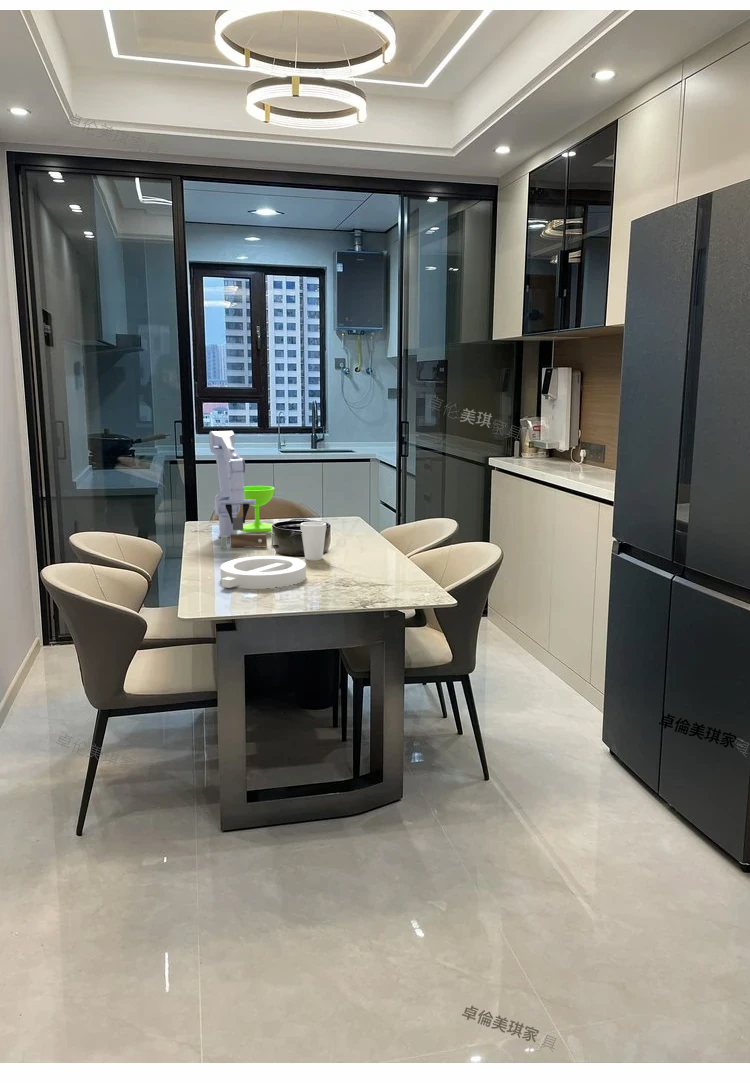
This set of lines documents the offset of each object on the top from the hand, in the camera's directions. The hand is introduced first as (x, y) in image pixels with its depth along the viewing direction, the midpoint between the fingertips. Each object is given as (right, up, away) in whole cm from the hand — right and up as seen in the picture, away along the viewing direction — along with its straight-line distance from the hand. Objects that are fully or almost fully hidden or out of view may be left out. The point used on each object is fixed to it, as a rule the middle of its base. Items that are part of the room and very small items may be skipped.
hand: (237, 522), depth 317 cm
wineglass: (+3, -2, +34) cm, 34 cm away
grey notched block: (0, -3, +2) cm, 3 cm away
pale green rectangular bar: (+5, -9, -4) cm, 11 cm away
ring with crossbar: (+18, -20, -53) cm, 59 cm away
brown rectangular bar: (+5, -9, -5) cm, 12 cm away
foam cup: (+32, -14, -24) cm, 43 cm away
